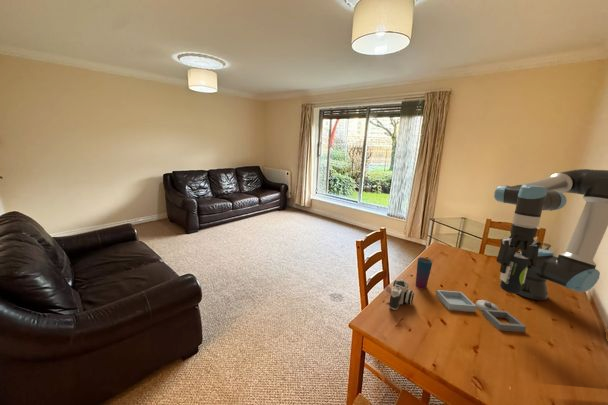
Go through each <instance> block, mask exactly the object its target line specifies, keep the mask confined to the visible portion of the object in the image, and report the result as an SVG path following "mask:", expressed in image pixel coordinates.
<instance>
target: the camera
mask: <svg viewBox="0 0 608 405" xmlns="http://www.w3.org/2000/svg"><path fill="white" fill-rule="evenodd" d="M409 287H410V284H409V283H408V282H407V281H405V280H404V279H403V278H400V279H398V280H396V279H395V280H394V281H393V283H392V286H391V290H390V294H389V296H390V297H389V303H388V305H389V306H388V307H389V309H392V310H394V311H396V310H398V308H399V306H400V305H404V303H406V304H408V305H412V304H413V300H414V295H415V292H414V290H412V289H411V290H410V289H409Z"/></svg>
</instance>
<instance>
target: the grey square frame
mask: <svg viewBox="0 0 608 405" xmlns="http://www.w3.org/2000/svg"><path fill="white" fill-rule="evenodd" d="M475 305H476V309H477V310H479V311H481V312H482V313H481V315H482V316H483V317H484V318H485V319H487V321H488V322H489V323H490V324H492V325H493V326H494V328H496V329H497V330H498V331H501V332H502V331H503V332H504V331H505V332H517V333H526V330H527V329H526V328H527V326H526V325H525V324H524V323H523V322H521V321H520V320H519V319H517V318H516V317H515V316H514V315H513V314H511V313H510V312H509V311H507V310H501V309H500V310H499V306H498V305H497V304H495V303H493V302H490V301H488V300H484V299H478V300H477V301H476V303H475ZM497 318H504V319H505V320H507V321H508V322H509V323H505V322H501V321H500V320H498V319H497Z"/></svg>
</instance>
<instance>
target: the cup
mask: <svg viewBox="0 0 608 405" xmlns="http://www.w3.org/2000/svg"><path fill="white" fill-rule="evenodd" d="M432 266H433V260H432V259H430V258H427V257H424V256H423V257H421V256H420V257H417V265H416V273H415V274H416V275H415V276H416V277H415V286H416V287H417V288H418V289H420V290H425V289H427V285H428V282H429V277H430V274H431V272H432V271H431V270H432Z"/></svg>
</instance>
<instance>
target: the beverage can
mask: <svg viewBox="0 0 608 405" xmlns="http://www.w3.org/2000/svg"><path fill="white" fill-rule="evenodd" d="M527 265H528V257H524V256H522V254H520V253H518V252H516V253H515V255H514V256H513V258H512V260H511V262H510V263H509V265H508V266H509V267H510V270H509V274H508V278H507V281H506V282H504V281H502V280H501V279H500V285H499V287H500V288H501V290H503V291H505V292H506V293H509V294H514V295H518V294H517V293H519V292H520V290H521V286H522V283H523V279H524V276H525V272H526V268H527Z"/></svg>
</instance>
